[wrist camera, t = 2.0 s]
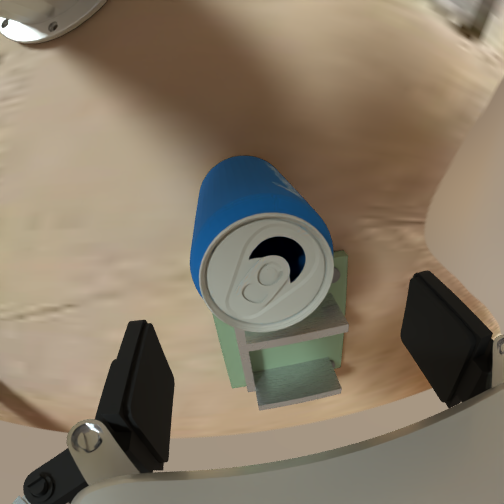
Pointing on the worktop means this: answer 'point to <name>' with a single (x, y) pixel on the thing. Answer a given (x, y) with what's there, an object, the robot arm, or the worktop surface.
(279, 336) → the bracket
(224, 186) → the beverage can
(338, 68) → the worktop surface
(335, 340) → the deck plate
